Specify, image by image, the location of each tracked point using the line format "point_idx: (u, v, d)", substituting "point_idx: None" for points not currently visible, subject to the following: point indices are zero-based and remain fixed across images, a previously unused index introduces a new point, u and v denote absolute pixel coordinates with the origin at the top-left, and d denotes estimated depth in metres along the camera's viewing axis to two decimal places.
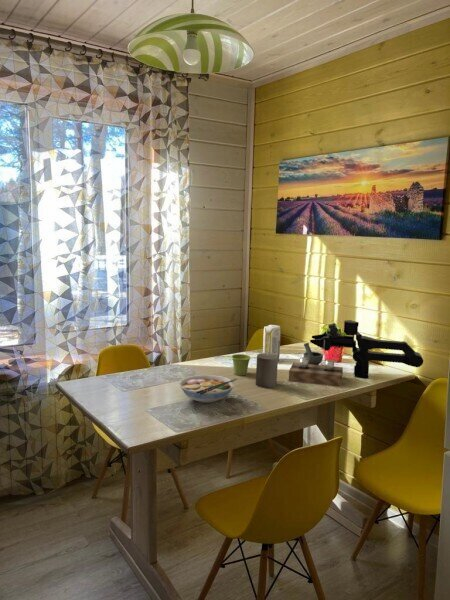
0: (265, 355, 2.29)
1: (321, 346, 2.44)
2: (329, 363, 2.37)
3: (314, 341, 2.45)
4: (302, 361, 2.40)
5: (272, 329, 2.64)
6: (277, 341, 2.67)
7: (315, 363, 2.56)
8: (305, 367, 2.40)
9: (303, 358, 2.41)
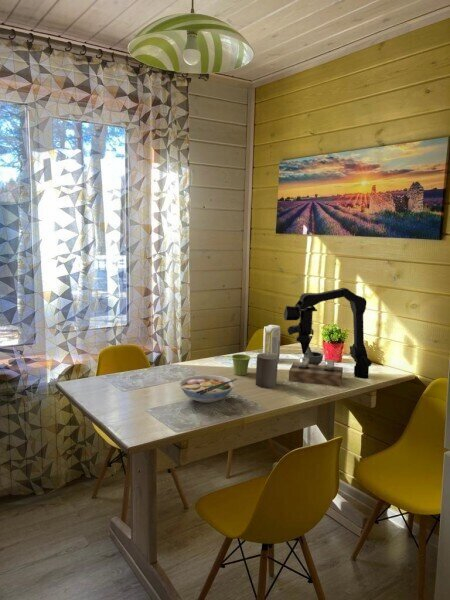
0: (265, 355, 2.29)
1: (308, 343, 2.35)
2: (329, 363, 2.37)
3: (303, 349, 2.37)
4: (302, 361, 2.40)
5: (272, 329, 2.64)
6: (277, 341, 2.67)
7: (315, 363, 2.56)
8: (305, 367, 2.40)
9: (303, 358, 2.41)
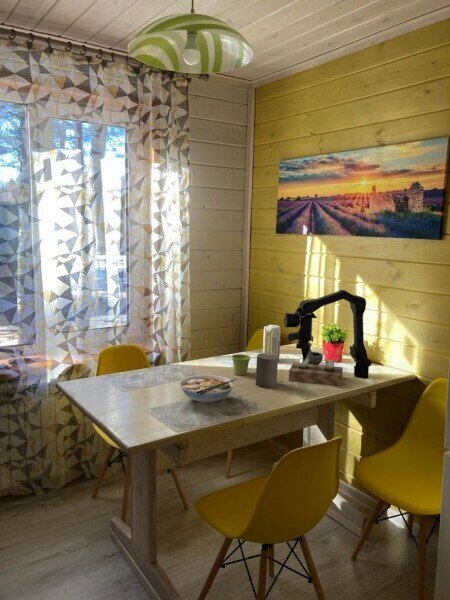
0: (265, 355, 2.29)
1: (308, 348, 2.38)
2: (329, 363, 2.37)
3: (304, 355, 2.40)
4: (302, 362, 2.40)
5: (272, 329, 2.64)
6: (277, 341, 2.67)
7: (315, 363, 2.56)
8: (305, 368, 2.40)
9: (303, 359, 2.42)
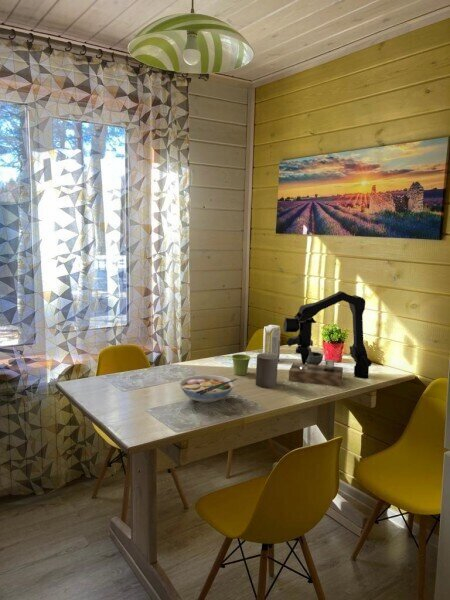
0: (265, 355, 2.29)
1: (307, 353, 2.38)
2: (329, 363, 2.37)
3: (303, 359, 2.40)
4: None
5: (272, 329, 2.64)
6: (277, 341, 2.67)
7: (315, 363, 2.56)
8: None
9: (303, 366, 2.42)
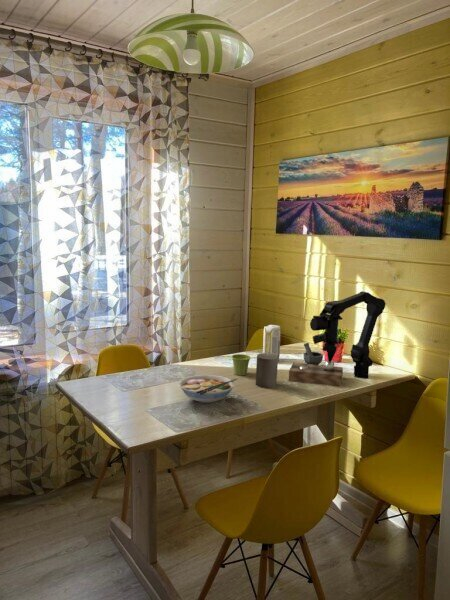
0: (265, 355, 2.29)
1: None
2: (329, 364, 2.37)
3: (329, 357, 2.37)
4: None
5: (272, 329, 2.64)
6: (277, 341, 2.67)
7: (315, 363, 2.56)
8: None
9: (303, 366, 2.42)
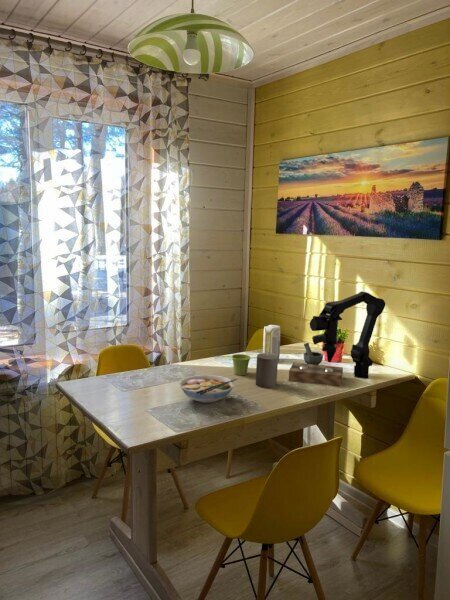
0: (265, 355, 2.29)
1: (333, 351, 2.35)
2: None
3: (329, 357, 2.37)
4: None
5: (272, 329, 2.64)
6: (277, 341, 2.67)
7: (315, 363, 2.56)
8: None
9: (303, 366, 2.42)
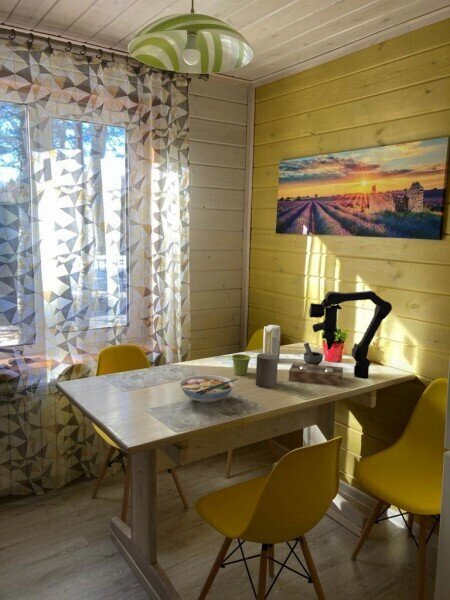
0: (265, 355, 2.29)
1: (333, 339, 2.42)
2: None
3: (329, 345, 2.44)
4: None
5: (272, 329, 2.64)
6: (277, 341, 2.67)
7: (315, 363, 2.56)
8: None
9: (303, 366, 2.42)
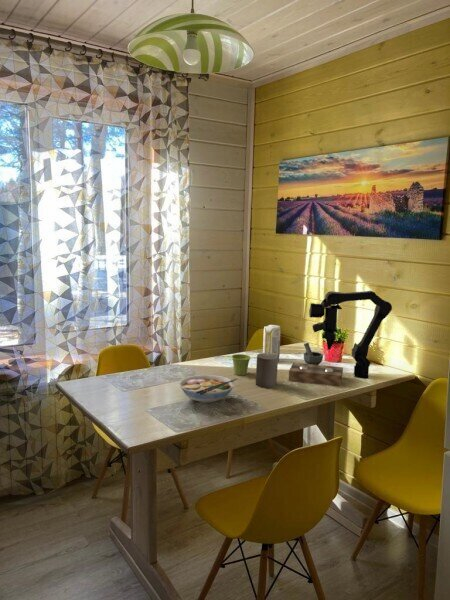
0: (265, 355, 2.29)
1: (333, 339, 2.42)
2: None
3: (329, 345, 2.44)
4: None
5: (272, 329, 2.64)
6: (277, 341, 2.67)
7: (315, 363, 2.56)
8: None
9: (303, 366, 2.42)
